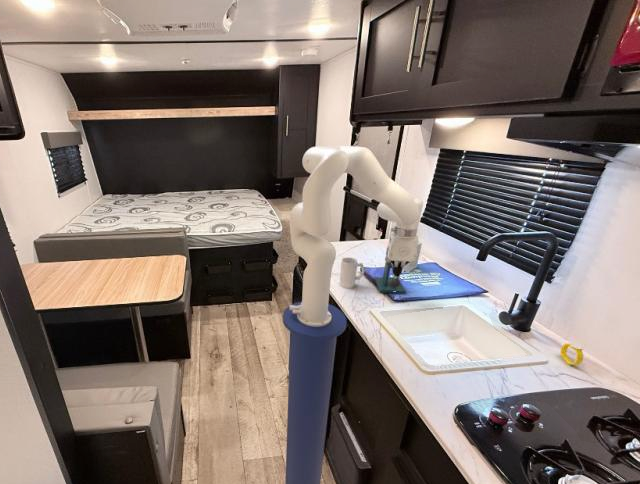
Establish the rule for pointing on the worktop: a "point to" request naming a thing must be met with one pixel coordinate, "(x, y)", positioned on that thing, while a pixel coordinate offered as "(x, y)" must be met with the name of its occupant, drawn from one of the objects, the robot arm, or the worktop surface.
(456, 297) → the worktop surface
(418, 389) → the worktop surface
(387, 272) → the toaster bracket
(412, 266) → the small box
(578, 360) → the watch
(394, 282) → the toaster lever
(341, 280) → the mug
